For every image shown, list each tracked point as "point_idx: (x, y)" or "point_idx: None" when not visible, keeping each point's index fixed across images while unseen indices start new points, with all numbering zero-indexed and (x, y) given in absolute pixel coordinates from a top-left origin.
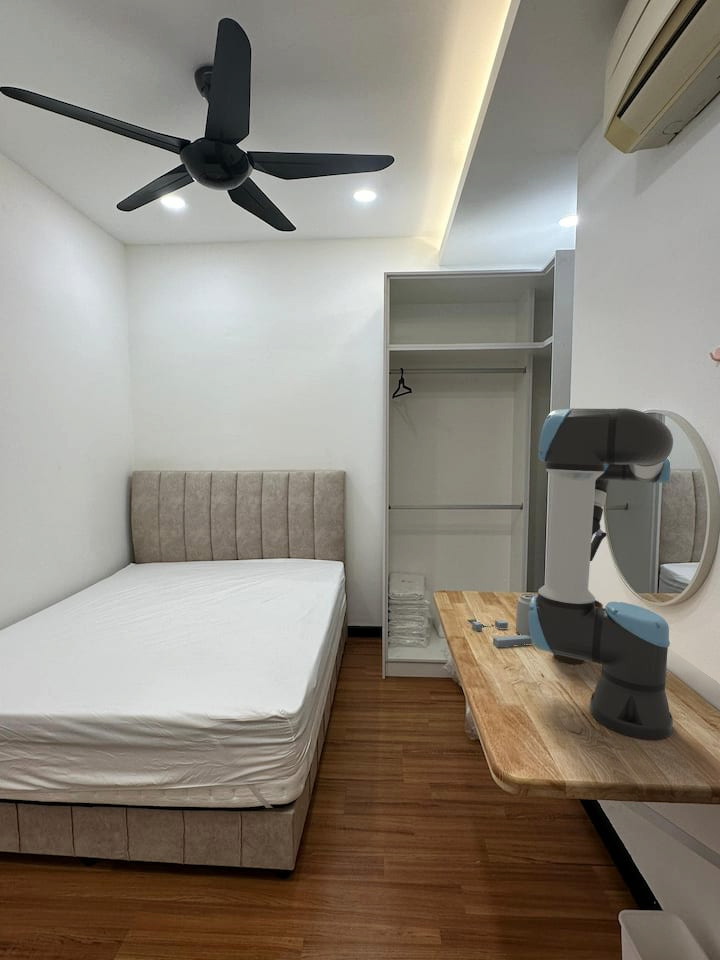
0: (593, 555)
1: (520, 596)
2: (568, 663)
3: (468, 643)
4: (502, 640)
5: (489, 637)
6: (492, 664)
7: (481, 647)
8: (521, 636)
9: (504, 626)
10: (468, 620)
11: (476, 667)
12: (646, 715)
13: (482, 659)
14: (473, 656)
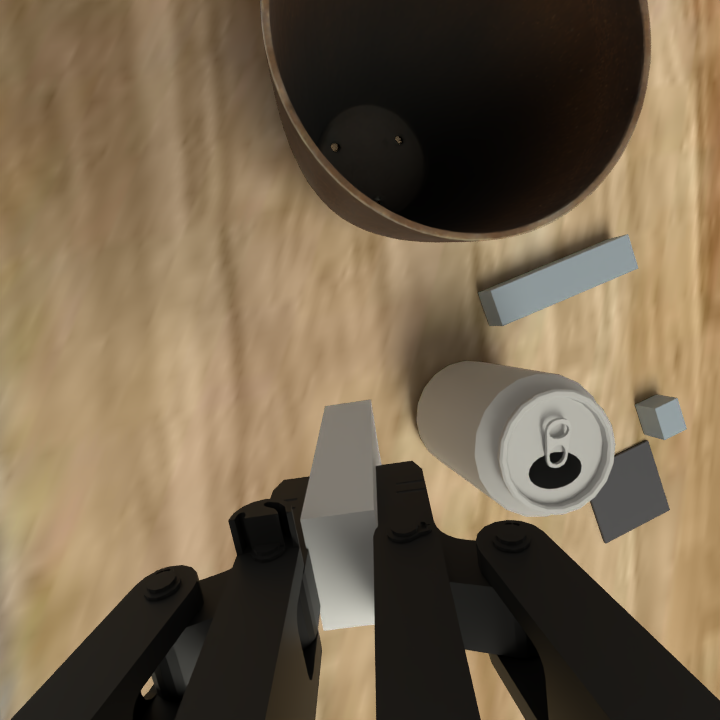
0: (91, 651)
1: (613, 440)
2: (388, 107)
3: (698, 260)
4: (610, 241)
5: (618, 338)
6: (651, 81)
7: (662, 230)
8: (529, 299)
9: None
10: (667, 505)
11: (704, 50)
12: None
13: (675, 120)
14: (699, 142)
